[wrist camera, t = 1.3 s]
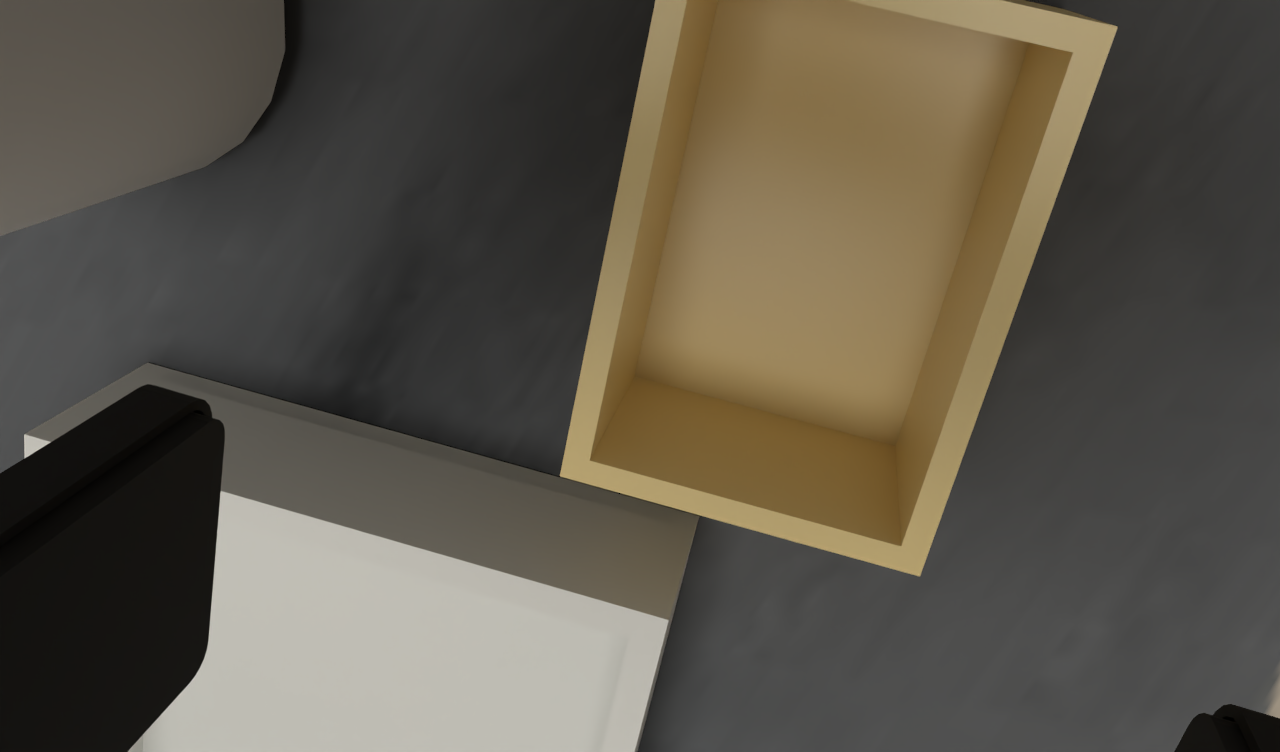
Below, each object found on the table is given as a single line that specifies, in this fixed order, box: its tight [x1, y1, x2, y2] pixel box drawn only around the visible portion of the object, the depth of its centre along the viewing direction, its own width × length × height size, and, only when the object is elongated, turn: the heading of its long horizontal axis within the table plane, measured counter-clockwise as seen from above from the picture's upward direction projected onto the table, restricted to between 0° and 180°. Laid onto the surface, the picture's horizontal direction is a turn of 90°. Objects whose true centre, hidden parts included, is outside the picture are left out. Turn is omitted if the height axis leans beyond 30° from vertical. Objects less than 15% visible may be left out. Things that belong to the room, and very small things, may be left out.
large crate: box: [24, 363, 699, 752], centre depth 28 cm, size 14×14×4 cm
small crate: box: [560, 0, 1118, 576], centre depth 21 cm, size 10×7×5 cm
